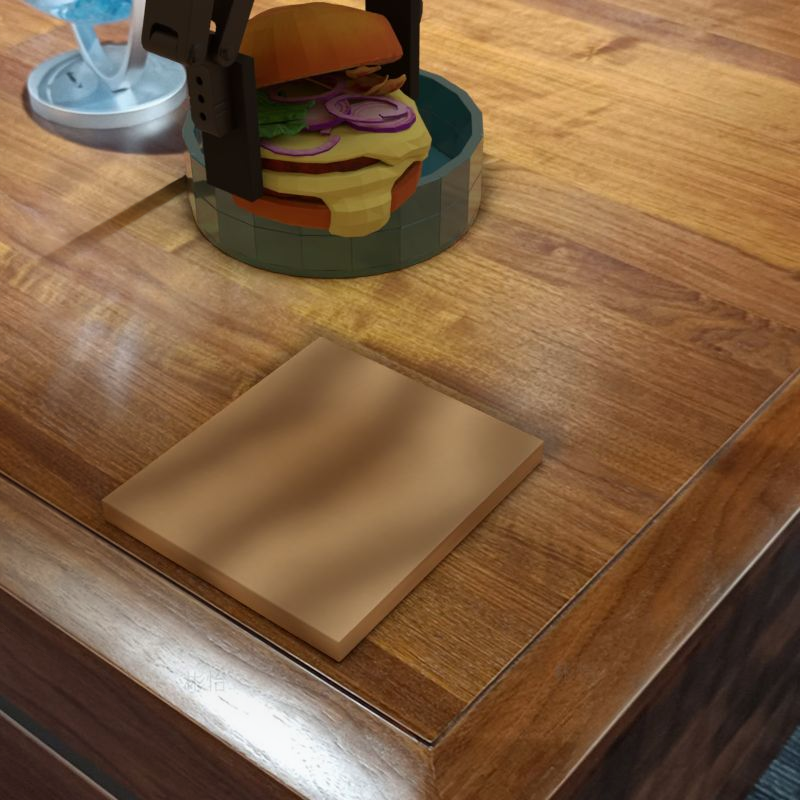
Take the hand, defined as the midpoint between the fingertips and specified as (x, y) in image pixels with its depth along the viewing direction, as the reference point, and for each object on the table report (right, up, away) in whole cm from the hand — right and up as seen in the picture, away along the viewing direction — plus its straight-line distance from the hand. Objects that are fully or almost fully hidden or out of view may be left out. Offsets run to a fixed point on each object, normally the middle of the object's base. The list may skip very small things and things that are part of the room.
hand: (318, 139), depth 64 cm
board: (0, -17, +10) cm, 20 cm away
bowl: (-1, +2, +34) cm, 34 cm away
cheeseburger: (0, -2, +1) cm, 2 cm away
